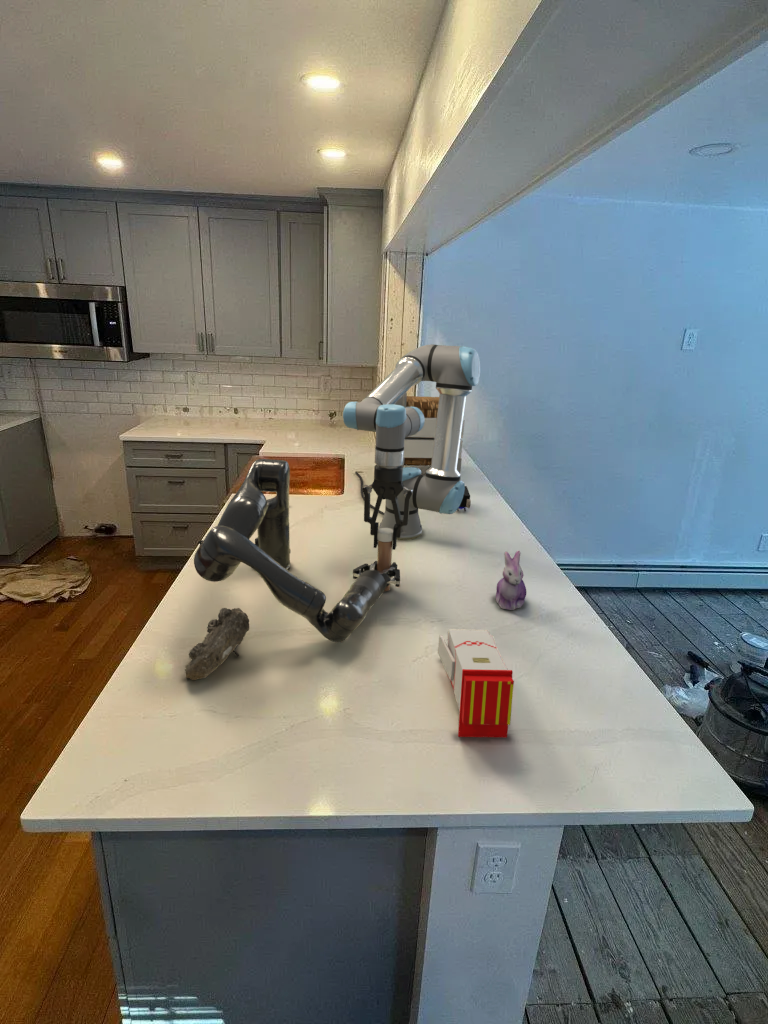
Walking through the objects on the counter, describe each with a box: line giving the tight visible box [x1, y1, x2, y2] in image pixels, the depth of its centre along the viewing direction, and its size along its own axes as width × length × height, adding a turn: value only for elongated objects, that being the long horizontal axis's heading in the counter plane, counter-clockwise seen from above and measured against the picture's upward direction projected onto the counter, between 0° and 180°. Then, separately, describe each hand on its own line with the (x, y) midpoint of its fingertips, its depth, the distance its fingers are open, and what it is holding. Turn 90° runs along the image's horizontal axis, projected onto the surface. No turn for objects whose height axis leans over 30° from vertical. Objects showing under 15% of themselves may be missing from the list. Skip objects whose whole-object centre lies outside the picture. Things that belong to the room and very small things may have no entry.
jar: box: [376, 540, 393, 593], centre depth 158 cm, size 4×4×17 cm
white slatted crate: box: [395, 392, 465, 475], centre depth 268 cm, size 34×33×41 cm
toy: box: [437, 628, 515, 738], centre depth 117 cm, size 12×13×30 cm
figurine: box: [495, 550, 527, 611], centre depth 153 cm, size 9×10×15 cm
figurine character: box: [456, 485, 472, 513], centre depth 228 cm, size 7×8×15 cm
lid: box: [377, 528, 393, 542], centre depth 155 cm, size 5×5×2 cm
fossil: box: [184, 607, 250, 681], centre depth 125 cm, size 22×10×15 cm
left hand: (387, 564), depth 161 cm, fingers closed on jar, 4 cm apart
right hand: (385, 546), depth 156 cm, fingers closed on lid, 4 cm apart
